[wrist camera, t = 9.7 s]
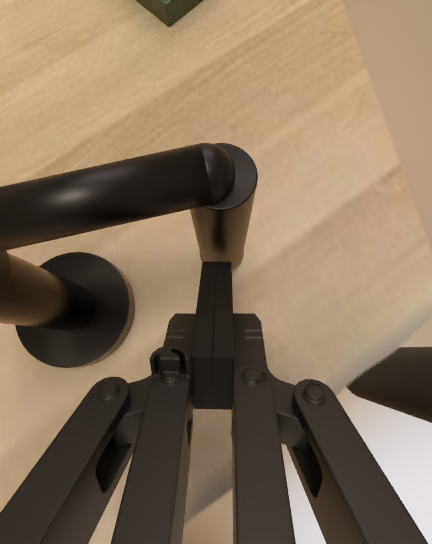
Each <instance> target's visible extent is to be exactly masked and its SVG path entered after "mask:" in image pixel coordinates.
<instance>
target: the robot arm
mask: <svg viewBox="0 0 432 544" xmlns="http://www.w3.org/2000/svg"><path fill="white" fill-rule="evenodd" d="M150 365H151V371H152V375H151V376H149V377H147V378H145V379H143V380H140V381H136V382H132V383H127V382H126V381H125V380H124V379H122V378H120V377H109V378H105V379H103V380H101V381H99V382H97V383H96V384H95V385H94V386H93V387H92V388H91V389H90V391H89V392H88V394H87V395H86V396H85V398H84V399H83V400H82V402H81V403H80V405H79V406H78V407H77V409H76V410H75V411H74V413H73V414H72V415H71V417H70V418H69V420H68V421H67V422H66V424H65V425H64V426H63V428H62V429H61V431H60V432H59V433H58V435H57V436H56V437H55V439H54V440H53V442H52V443H51V444H50V446H49V447H48V448H47V450H46V451H45V453H44V454H43V455H42V457H41V458H40V459H39V461H38V462H37V463H36V465H35V466H34V468H33V469H32V470H31V472H30V473H29V474H28V476H27V477H26V479H25V480H24V481H23V483H22V484H21V485H20V487H19V488H18V490H17V491H16V492H15V494H14V495H13V496H12V498H11V499H10V501H9V502H8V503H7V505H6V506H5V507H4V509H3V510H2V511H1V513H0V544H88V543H89V541H90V539H91V537H92V535H93V533H94V531H95V528H96V526H97V524H98V522H99V520H100V518H101V516H102V514H103V512H104V510H105V508H106V506H107V504H108V502H109V500H110V498H111V496H112V494H113V492H114V490H115V488H116V486H117V484H118V482H119V480H120V478H121V476H122V474H123V472H124V470H125V468H126V466H127V464H128V462H129V460H130V458H131V456H132V454H133V456H132V460H131V464H130V468H129V472H128V476H127V480H126V484H125V488H124V492H123V496H122V500H121V504H120V508H119V512H118V517H117V521H116V525H115V529H114V533H113V537H112V541H111V544H182V536H183V525H184V514H185V504H186V493H187V483H188V472H189V462H190V451H191V441H192V430H193V405H194V409H227V410H232V432H231V436H232V480H233V544H296V543H295V536H294V530H293V522H292V515H291V508H290V502H289V495H288V488H287V481H286V475H285V468H284V461H283V454H282V447H281V443H283V444H285V445H286V446H287V449H288V451H289V453H290V456H291V458H292V461H293V463H294V465H295V468H296V470H297V473H298V475H299V478H300V480H301V482H302V485H303V487H304V490H305V492H306V495H307V497H308V500H309V502H310V504H311V507H312V509H313V512H314V514H315V517H316V519H317V521H318V524H319V527H320V529H321V531H322V534H323V536H324V539H325V541H326V544H428V543H427V541H426V539H425V538H424V536H423V535H422V533H421V532H420V530H419V528H418V527H417V525H416V524H415V522H414V520H413V519H412V517H411V516H410V514H409V513H408V511H407V509H406V508H405V506H404V504H403V503H402V501H401V500H400V498H399V496H398V495H397V493H396V492H395V490H394V489H393V487H392V485H391V484H390V482H389V481H388V479H387V477H386V476H385V474H384V473H383V471H382V469H381V468H380V466H379V465H378V463H377V461H376V460H375V458H374V457H373V455H372V454H371V452H370V450H369V449H368V447H367V445H366V444H365V442H364V441H363V439H362V437H361V436H360V434H359V433H358V431H357V429H356V428H355V426H354V425H353V423H352V422H351V420H350V418H349V417H348V415H347V414H346V412H345V411H344V409H343V407H342V406H341V404H340V402H339V401H338V399H337V398H336V396H335V394H334V393H333V391H332V390H331V389H330V388H329V387H328V386H327V385H325V384H324V383H322V382H320V381H317V380H313V379H305V380H303V381H300V382H298V384H297V385H293V384H289V383H286V382H283V381H281V380H279V379H277V378H275V377H274V376H273V375H272V374H271V373H270V371H269V370H268V367H267V363H266V356H265V349H264V341H263V334H262V327H261V321H260V320H259V319H258V317H257V316H256V315H255V314H233V301H232V263H231V262H226V261H203V263H202V271H201V278H200V286H199V294H198V302H197V309H196V314H175V315H174V316H173V317H172V318H171V320H170V321H169V324H168V329H167V333H166V339H165V341H164V346H163V347H161V348H158V349H157V350H156V351H155V352H153V353H152V355H151V357H150Z"/></svg>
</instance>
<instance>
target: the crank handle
mask: <svg viewBox="0 0 432 544" xmlns="http://www.w3.org/2000/svg"><path fill="white" fill-rule="evenodd" d="M257 180H258V174H257V168H256V166H255V163H254V161H253V160H252V158H251V157H250V156H249V155H248V154H247V153H246V152H245V151H244V150H242V149H241V148H239V147H237V146H234V145H231V144H226V143H216V144H211V143H200V144H195V145H191V146H186V147H182V148H177V149H172V150H168V151H163V152H159V153H154V154H149V155H145V156H140V157H136V158H131V159H126V160H122V161H117V162H113V163H108V164H103V165H99V166H94V167H90V168H85V169H81V170H76V171H71V172H67V173H62V174H58V175H53V176H48V177H44V178H39V179H35V180H30V181H25V182H21V183H16V184H12V185H7V186H3V187H0V302H1V300H2V299H3V297H4V295H5V293H6V292H7V289H8V286H9V283H10V279H11V262H10V259H9V255H8V253H7V251H6V250H10V249H14V248H19V247H23V246H27V245H32V244H36V243H41V242H45V241H50V240H54V239H59V238H63V237H68V236H72V235H77V234H81V233H85V232H90V231H94V230H99V229H103V228H108V227H112V226H117V225H121V224H126V223H130V222H135V221H139V220H143V219H148V218H152V217H157V216H161V215H166V214H170V213H175V212H179V211H184V210H188V209H190V212H191V216H192V220H193V224H194V228H195V233H196V237H197V241H198V245H199V249H200V257H201V261H202V263H203V261H226V262H231V263H232V272H234V271H235V270H236V269H237V268H238V267H239V266H240V264H241V262H242V259H243V254H244V245H245V240H246V235H247V230H248V226H249V221H250V216H251V211H252V206H253V201H254V196H255V191H256V186H257Z"/></svg>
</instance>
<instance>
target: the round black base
mask: <svg viewBox="0 0 432 544" xmlns="http://www.w3.org/2000/svg"><path fill="white" fill-rule="evenodd" d="M8 255H9V259H10V262H11V279H10V283H9V286H8V289H7V292H6V293H5V295H4V297H3V299H2V300H1V302H0V323H4V324H13V325H16V330H17V333H18V336H19V338H20V340H21V342H22V344H23V346H24V347H25V348H26V350H27V351H28V352H29V353H30V354H31V355H32V356H34V357H35V358H36V359H38V360H39V361H41V362H43V363H45V364H48V365H51V366H55V367H63V368H70V367H80V366H86V365H90V364H93V363H96V362H98V361H100V360H102V359H104V358H105V357H107V356H108V355H110V354H111V353H112V352H113V351H115V350H116V349H117V348H118V346H119V345H120V344H121V343H122V342H123V340H124V339H125V337H126V335H127V334H128V332H129V330H130V327H131V325H132V321H133V317H134V296H133V292H132V289H131V286H130V284H129V282H128V280H127V279H126V277H125V276H124V275H123V274H122V272H121V271H120V270H119V269H117V268H116V267H115V266H114V265H112V264H111V263H110V262H108V261H107V260H105V259H103V258H101V257H99V256H97V255H94V254H90V253H82V252H74V253H67V254H62V255H59V256H56V257H54V258H52V259H50V260H48V261H46V262H45V263H43V264H42V265H40V266H39V267H38V266H36V265H34V264H31V263H29V262H27V261H25V260H22V259H20V258H18V257H16V256H13V255H11V254H9V253H8Z"/></svg>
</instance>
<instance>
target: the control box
mask: <svg viewBox="0 0 432 544" xmlns="http://www.w3.org/2000/svg"><path fill="white" fill-rule="evenodd" d="M137 1H138V2H140V3H141V4H142V5H143V6H144V7H146V8H147V9H148V10H149V11H151V12H152V13H153V14H154V15H156V16H157V17H158V18H159V19H161V20H162V21H163V22H164V23H166V24H167V25H168V26H171V25H172V24H173V23H174V22H176V21H177V20H178V19H180V18H181V17H182V16H183V15H185V14H186V13H187V12H188V11H190V10H191V9H192V8H193V7H195V6H196V5H197V4H198V3H200V2H201V1H202V0H137Z"/></svg>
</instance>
